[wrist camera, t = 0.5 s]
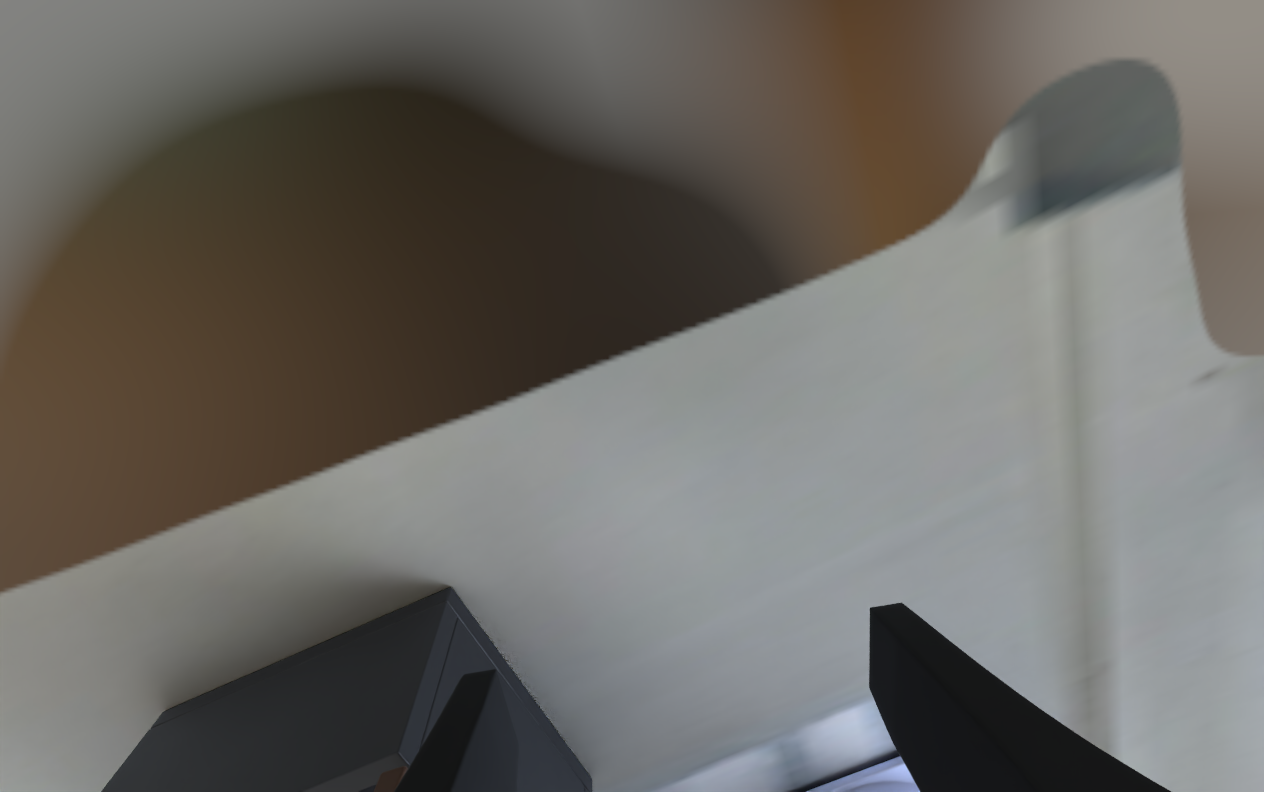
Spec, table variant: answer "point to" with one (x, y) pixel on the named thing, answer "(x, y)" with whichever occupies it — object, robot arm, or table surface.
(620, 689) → the table surface
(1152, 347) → the table surface
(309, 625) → the table surface
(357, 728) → the storage box
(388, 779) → the lid
